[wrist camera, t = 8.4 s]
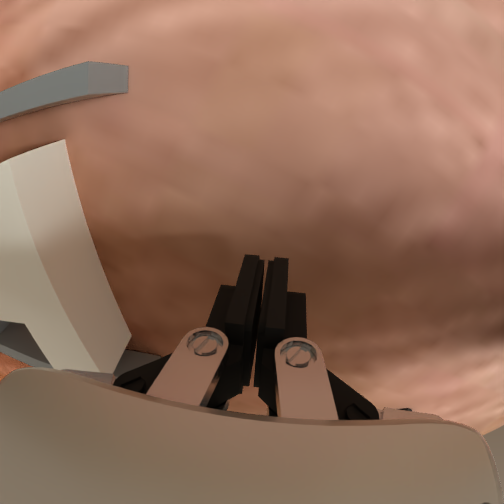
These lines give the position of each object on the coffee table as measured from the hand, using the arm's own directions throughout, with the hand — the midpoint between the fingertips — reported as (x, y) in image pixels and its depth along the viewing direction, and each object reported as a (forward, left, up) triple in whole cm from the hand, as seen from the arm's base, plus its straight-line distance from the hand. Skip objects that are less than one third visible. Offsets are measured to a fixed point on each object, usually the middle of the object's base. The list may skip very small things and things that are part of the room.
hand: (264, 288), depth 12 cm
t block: (+14, +1, -2) cm, 14 cm away
